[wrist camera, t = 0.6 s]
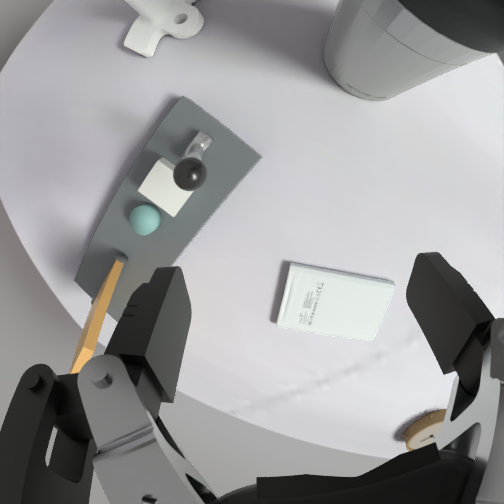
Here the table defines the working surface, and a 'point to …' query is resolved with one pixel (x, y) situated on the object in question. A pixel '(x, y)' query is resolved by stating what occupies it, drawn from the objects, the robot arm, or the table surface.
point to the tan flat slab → (97, 313)
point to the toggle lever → (192, 164)
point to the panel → (171, 228)
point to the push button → (145, 219)
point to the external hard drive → (333, 302)
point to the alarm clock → (424, 430)
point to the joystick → (161, 23)
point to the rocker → (164, 188)
